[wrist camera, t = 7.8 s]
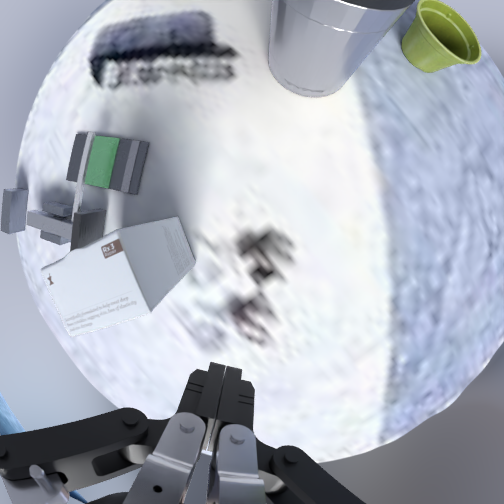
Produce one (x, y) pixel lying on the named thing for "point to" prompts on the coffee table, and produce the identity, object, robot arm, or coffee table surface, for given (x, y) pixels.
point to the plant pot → (439, 38)
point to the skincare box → (118, 275)
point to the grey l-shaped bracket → (74, 212)
